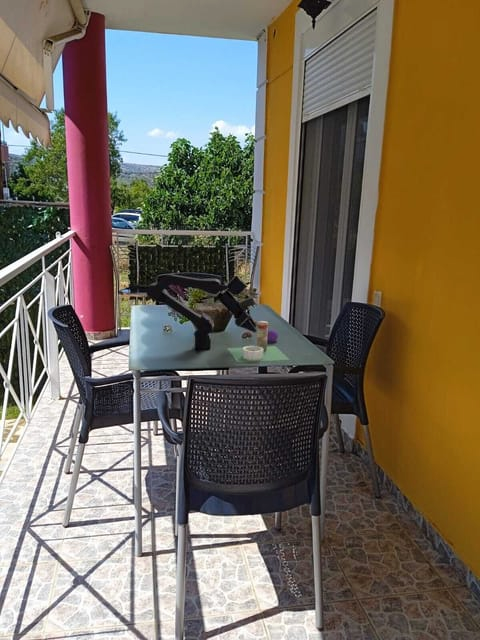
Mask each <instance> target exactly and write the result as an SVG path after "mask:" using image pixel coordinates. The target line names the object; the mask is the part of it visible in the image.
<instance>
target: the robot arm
mask: <svg viewBox="0 0 480 640" xmlns="http://www.w3.org/2000/svg"><path fill="white" fill-rule="evenodd" d="M171 285H175V286H181V287H188V288H192V289H199V290H201V291H203V292H205V293H209V294H211V295H213V296H212V297H213V303H215V304H216V302H218V301H219V303H221V305H222V306H224V308H225V309H226V312H228V313H230V314H231V315H232V316H233V319H234V323H235V325H236V326H237V327H239V328H242V329H245V330H246V331H247V330H248V331H250V332H252V333H256V332H257V329H256V328H255V327H257V323H256V322H255V321H254V320H253V318H252V316H251V314H250V313H251V309H250V307H251V306H255V305H256V301H255V300H254V297H253V296H252V295H249V294H246V295H244V298H243V299H239V298H236V297H235V296H239V295H241V293H243V292H244V290H245V289H247V288H248V287H249V286H248V284H247V283H246V282H245V281H244V279H242V278H241V277H240V276H238V274H235V276H234V277H233V278H232V279H231V280H230V281H228V282H225V281H220V280H219V279H217V278H196V277H191V276H186V275H185V276H184V275H180V274H179V275H178V274H174V273H168V274H167V275H166V276H165V277H164V278H163V279H161V280H160V281H158V282H153V283H151V284H150V285H148V286H147V288H146V296H147V297H148V298H150V299H152V300H154V301H156V302H159V303H163V304H165V306H167V307H168V308H170V309H171V310H173V311H175V312H177V314H180V315H181V316H182V317H183V318H185V319H187V320H189V321H190V322H191V323H192V324H193V325H194V327H195V330H194V332H193V346H192V348H193V349H194V350H193V351H194V352H201V351H202V352H204V351H211V344H212V343H211V337H210V334H211V333H212V331H213V329H214V326H215V325H214V320H213V319H212V317H211V316H209V315H208V314H207V313H205V312H202V314H200V313H197V312H196V311H195V310H193V309H192V308H190V307H189V306H187V305H185V304H184V303H182V302H181V301H179V299H177V298H175V297H174V296H173V295H171V294H170V293H169V291H168V290H167V289H166V288H168V287H169V286H171Z"/></svg>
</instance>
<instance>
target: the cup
mask: <svg viewBox="0 0 480 640" xmlns="http://www.w3.org/2000/svg"><path fill="white" fill-rule="evenodd" d="M242 348H243V350H242V357H243V358H244V359H247V360H260V359H262V358H263V353H264V349H263V348H262V347H259V346H257V345H247V346H243V347H242Z"/></svg>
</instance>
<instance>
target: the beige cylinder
mask: <svg viewBox="0 0 480 640" xmlns="http://www.w3.org/2000/svg"><path fill="white" fill-rule="evenodd" d="M256 328H257V329H256V332H257V333H256V346H259V347H262V348H263V349H264V352H266V351H267V347H268V341H267V335H268V329H269V322H268V321H265V320H258V321H257V324H256Z"/></svg>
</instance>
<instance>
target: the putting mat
mask: <svg viewBox="0 0 480 640" xmlns="http://www.w3.org/2000/svg"><path fill="white" fill-rule="evenodd" d="M242 350H243V347H227V351H229V353H230V355H231V356H232V357H233V358H234V360H235V361H236V363H252V362H253V363H254V362H269V361H270V362H271V361H272V362H273V361H275V362H276V361H289V360H290V361H291V359H290V358H289V357H287V355H286V354H284V353H283V352H282V351H281V350H280V349H279V348H278V347H277V346H275V345H271V346H270V345H269V346H268V345H267V351H266V352H264V353H263V358H262V359H260V360H247V359H244V358H243V357H242Z"/></svg>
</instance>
